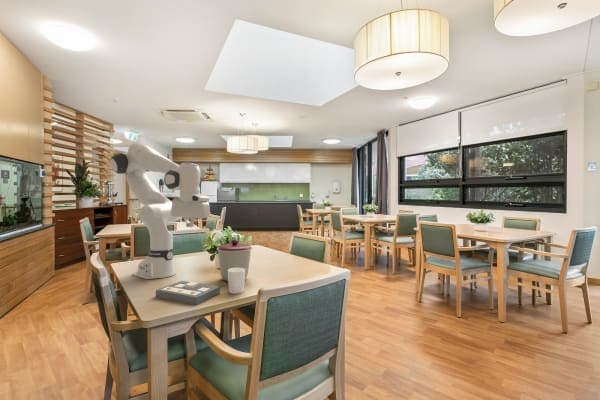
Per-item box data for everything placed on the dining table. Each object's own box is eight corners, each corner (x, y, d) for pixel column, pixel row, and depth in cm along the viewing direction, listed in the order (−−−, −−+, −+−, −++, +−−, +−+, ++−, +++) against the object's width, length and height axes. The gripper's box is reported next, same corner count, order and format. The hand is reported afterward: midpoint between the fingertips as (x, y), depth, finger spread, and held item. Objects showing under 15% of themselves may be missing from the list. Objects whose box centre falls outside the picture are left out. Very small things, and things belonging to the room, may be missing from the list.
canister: (243, 285, 143) (244, 242, 143) (209, 282, 147) (210, 240, 147) (256, 275, 161) (257, 237, 161) (226, 273, 165) (226, 236, 164)
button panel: (155, 297, 125) (155, 289, 125) (181, 286, 139) (181, 279, 139) (196, 304, 117) (196, 296, 117) (219, 293, 131) (220, 285, 131)
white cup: (246, 288, 139) (246, 267, 139) (243, 294, 131) (243, 272, 131) (229, 288, 138) (229, 267, 138) (225, 294, 131) (226, 271, 130)
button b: (196, 295, 127) (196, 289, 127) (202, 292, 130) (203, 287, 130) (204, 296, 125) (204, 291, 125) (210, 294, 129) (210, 288, 129)
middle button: (184, 290, 129) (185, 284, 129) (191, 287, 133) (191, 281, 133) (192, 291, 128) (192, 285, 128) (198, 288, 131) (198, 283, 131)
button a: (173, 291, 132) (173, 286, 132) (180, 289, 135) (180, 283, 135) (180, 292, 130) (180, 287, 130) (187, 290, 134) (187, 284, 134)
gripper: (167, 196, 137) (167, 226, 137) (202, 197, 130) (202, 228, 130) (177, 196, 143) (177, 225, 143) (212, 197, 136) (211, 227, 136)
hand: (189, 226), depth 137 cm, fingers closed
